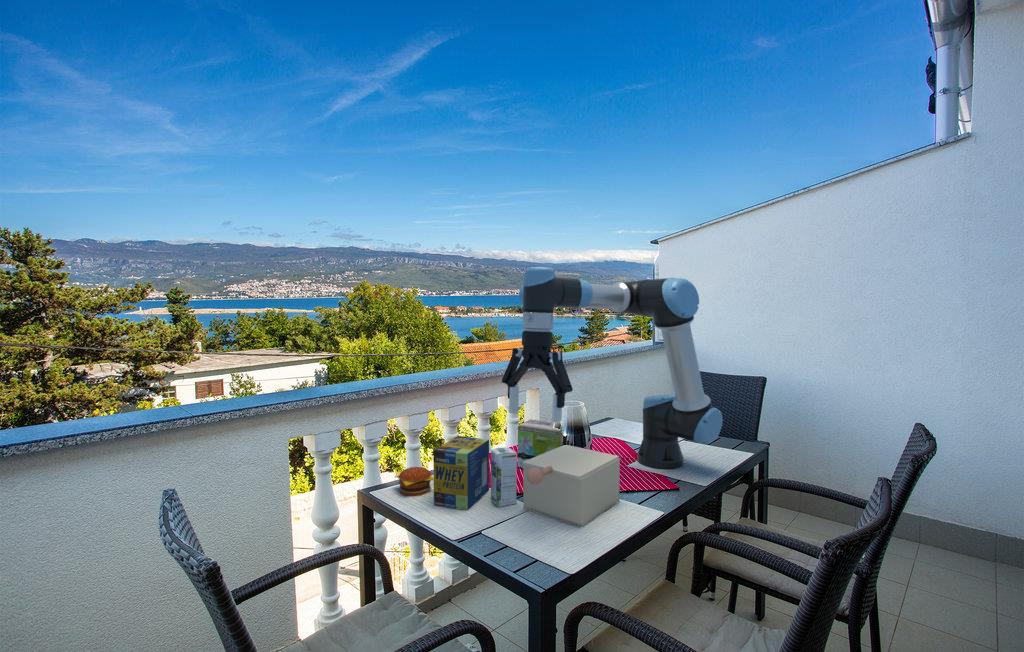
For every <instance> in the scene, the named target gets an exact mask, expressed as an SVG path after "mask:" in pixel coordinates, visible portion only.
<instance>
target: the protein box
mask: <svg viewBox="0 0 1024 652" xmlns="http://www.w3.org/2000/svg"><path fill="white" fill-rule="evenodd" d="M432 451H433V453H432V454H433V456H432V457H433V478H434V480H433V505H434V506H439V507H444V508H445V507H446V508H451V509H456V510H462V511H468V510H470V509H471V508H472V507H473V506H474V505H475V504H476V503H477V502H478V501H479V500H481V499H482V497H483V496H486V494H487V493H488V492H489V491H490V439H487V438H479V437H471V436H463V435H457V436H455V437H453V438H452V439H450V440H447V442H445V443H443V444H441V445H440V446H438V447H436V448H434V449H433V450H432Z"/></svg>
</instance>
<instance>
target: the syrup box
mask: <svg viewBox="0 0 1024 652" xmlns="http://www.w3.org/2000/svg"><path fill="white" fill-rule="evenodd" d="M490 451H491V453H490V455H491V456H490V458H491V459H490V501H492V502H493V503H494V505H495V506H497V508H501V507H504V506H510V505H515V504H517V473H518V472H517V471H518V470H517V468H518V452H516V451H515V450H514V449H512V448H510V447H507V446H506V447H503V446H502V447H496V448H492V449H491V450H490Z"/></svg>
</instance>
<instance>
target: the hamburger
mask: <svg viewBox="0 0 1024 652" xmlns="http://www.w3.org/2000/svg"><path fill="white" fill-rule="evenodd" d="M395 478H398V481H399V482H398V483H399V488H398V489H399V493H400V494H401V495H403V496H410V497H415V496H422V495H425V494H427V493H428V492H430V490H431V489H432V487H431V481H434V476H432V473H431V471H430V470H429V469H428V468H425V467H423V466H410V467H407V468H405V469H403V470H401V471H400V474H398V475H396V476H395Z"/></svg>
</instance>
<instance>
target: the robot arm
mask: <svg viewBox="0 0 1024 652" xmlns="http://www.w3.org/2000/svg"><path fill="white" fill-rule="evenodd" d="M518 296H519V300H520V303H522V329H524V330H522V332H521V345H522V348H521V347H517V348H515V347H514V348H512V352H511V357H510V359H509V362H508V364H507V367H506V369H505V371H504V374H503V376H502V378H501V383H503V384H506V386H507V399H509V400H508V404H509V405H508V413H510V414H514V413H518V412H519V397H520V396H519V395H520V393H519V391H520V386H518V383H519V382H520V380H521V379H522V378H523V377H524V375H525V374H526V372H527V371H528V370H529V369H535V370H541V372H543V373H544V374H545V376H546V378H547V379H548V381H549V383H550V384H551V387H552V388H553V390H554V391H555V393H553V394H552V419H551V422H553V423H558V422H560V421H562V419H563V415H562V414H563V413H562V412H563V408H565V405H566V404H565V401H566V394H567V393H572V392H573V389H574V388H573V386H572V383H571V381H570V378H569V375H568V372H567V368H566V366H565V363H564V361H563V352H562V351H553V352H552V346H553V336H554V335H553V332H552V331H551V330H553V329H554V308H556V309H559V308H561V309H576V310H578V309H588V310H589V309H593V310H596V309H598V310H611V311H612V312H614V313H623V314H630V315H633V316H634V315H636V316H639V317H650V318H651V317H652V320H653V324H654V327H656V328H657V329H659V331H661V337H662V341H663V345H664V349H665V350H664V351H665V354H666V359H667V363H668V367H669V373H670V376H671V380H672V381H671V382H672V385H673V390H674V394H656V395H649V396H646V397H644V399H643V407H642V440H641V443H640V446H639V449H638V452H637V461H638V463H639V464H642V465H644V466H646V467H650V468H655V469H666V470H667V469H677V468H680V467H682V466H683V465H684V456H683V455H684V454H683V452H682V450H681V449H682V448H681V446H680V443H679V438H680V439H684V440H687V441H691V442H695V443H696V444H698V443H700V444H705V445H708V444H711V443H713V442H714V441H715V440H717V438H718V436H719V435H720V432H721V430H722V426H723V422H724V421H723V414H722V412H721V410H719V409H718V408H717V407H713V405H712V404H713V403H712V400H711V398H710V396H709V395H707V394H705V392H704V387H703V382H702V377H701V372H700V371H701V370H700V367H699V362H698V357H697V352H696V347H695V342H694V339H693V333H692V329H691V324H692V323H693V322H694V319H695V315H696V314H697V312H698V310H699V305H700V297H699V293H698V291H697V288H696V287H695V285H694V284H693V283H692V281H689V280H688V279H687V278H681V277H680V278H679V277H668V278H654V279H649V278H648V279H641V280H639V279H638V280H631V281H627V282H626V281H622V282H621V281H616V282H614V283H613V284H606V283H605V284H601V283H590V282H589V281H587V280H584V279H580V278H567V277H557V276H556V273H555V269H554V268H552V267H550V266H549V267H548V266H530V267H527V268H526V269H525V270H524V275H523V284H522V285H521V286H520V289H519V295H518ZM521 359H522V360H521ZM551 361H552V362H551Z"/></svg>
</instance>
